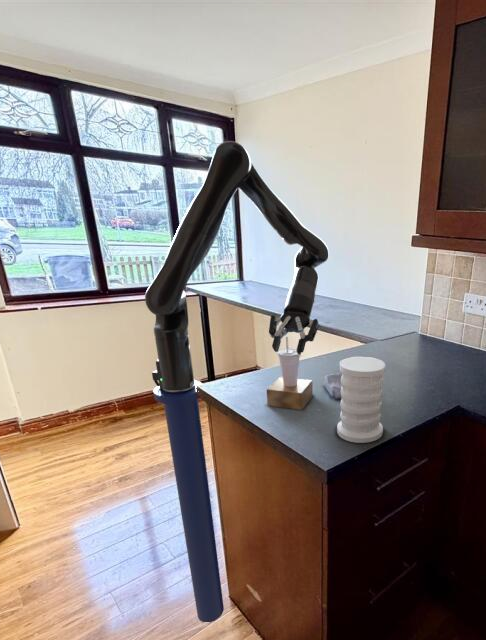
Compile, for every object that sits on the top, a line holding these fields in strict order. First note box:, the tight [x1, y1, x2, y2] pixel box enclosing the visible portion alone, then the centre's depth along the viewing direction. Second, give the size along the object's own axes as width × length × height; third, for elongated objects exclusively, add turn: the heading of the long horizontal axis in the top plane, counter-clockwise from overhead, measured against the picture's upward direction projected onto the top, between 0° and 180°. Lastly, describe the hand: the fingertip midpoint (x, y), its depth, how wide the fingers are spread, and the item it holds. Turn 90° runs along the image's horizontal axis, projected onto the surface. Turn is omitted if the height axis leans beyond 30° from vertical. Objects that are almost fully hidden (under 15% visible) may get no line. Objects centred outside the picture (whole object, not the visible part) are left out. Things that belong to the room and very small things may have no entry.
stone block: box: [323, 373, 342, 400], centre depth 125 cm, size 12×5×10 cm
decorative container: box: [336, 356, 387, 444], centre depth 99 cm, size 12×12×18 cm
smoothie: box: [276, 336, 302, 387], centre depth 113 cm, size 6×6×14 cm
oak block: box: [266, 376, 313, 411], centre depth 116 cm, size 10×10×5 cm
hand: (287, 351), depth 110 cm, fingers closed on smoothie, 6 cm apart
